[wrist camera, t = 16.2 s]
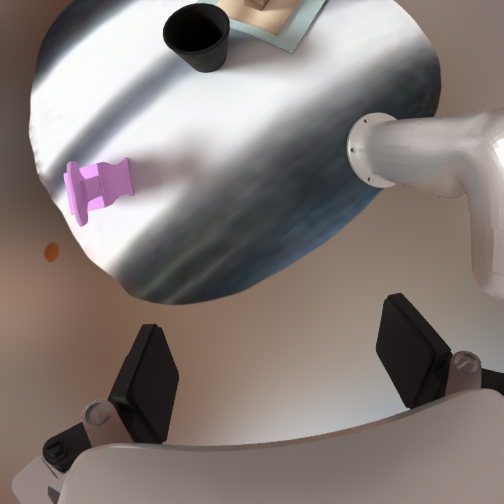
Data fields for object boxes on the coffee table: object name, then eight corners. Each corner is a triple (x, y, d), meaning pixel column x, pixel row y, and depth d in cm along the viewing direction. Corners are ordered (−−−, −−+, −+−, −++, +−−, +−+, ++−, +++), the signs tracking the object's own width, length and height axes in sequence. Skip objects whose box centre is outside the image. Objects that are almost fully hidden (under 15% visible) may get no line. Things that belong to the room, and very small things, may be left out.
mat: (325, -1, 29) (326, -2, 28) (292, 53, 33) (293, 52, 33) (229, -36, 25) (228, -37, 25) (188, 16, 30) (188, 14, 29)
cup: (214, 28, 31) (205, -7, 20) (242, 60, 34) (243, 30, 22) (173, 55, 33) (150, 27, 21) (201, 88, 35) (185, 66, 24)
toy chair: (83, 163, 38) (27, 176, 24) (126, 151, 38) (76, 157, 24) (91, 210, 41) (40, 238, 27) (134, 201, 41) (90, 228, 27)
